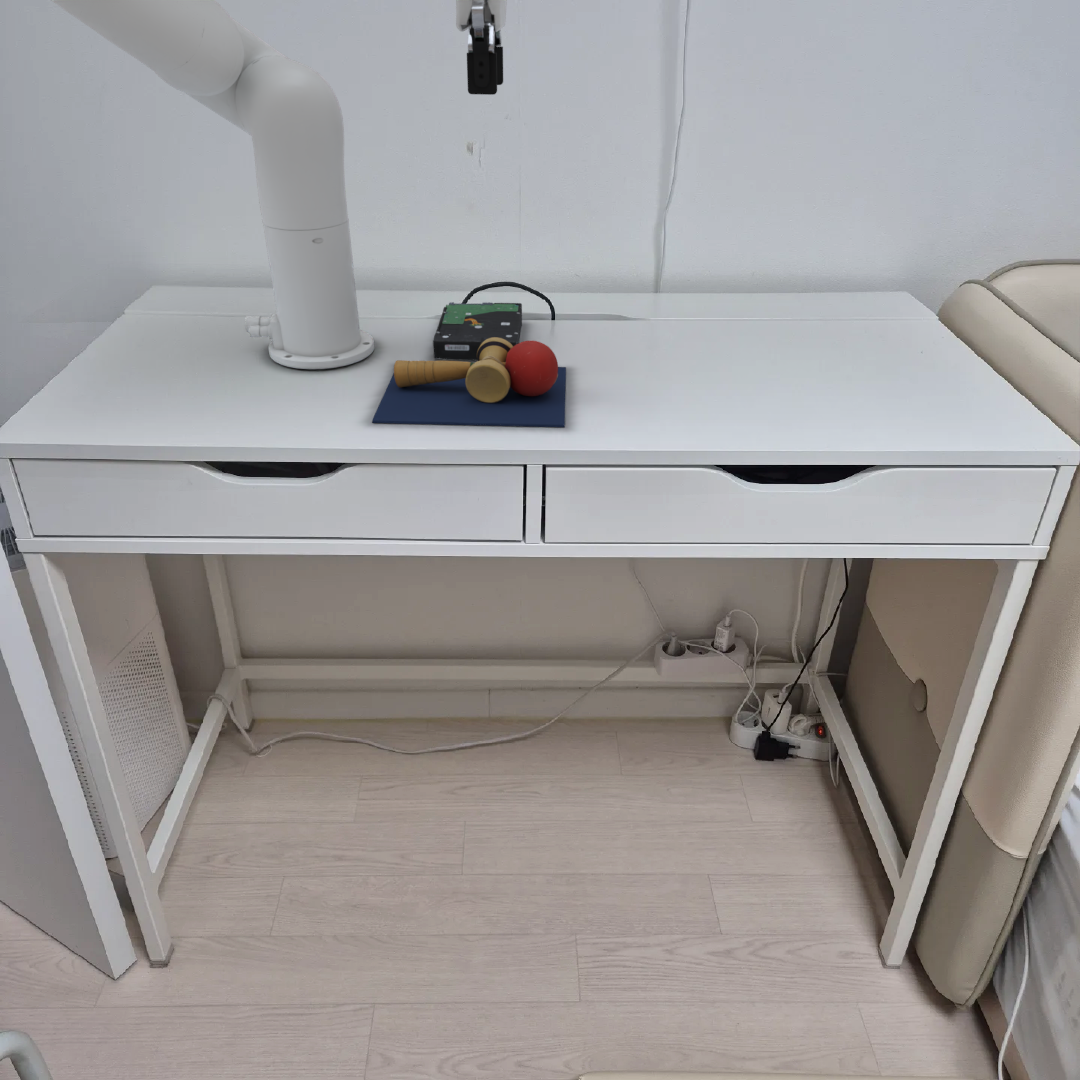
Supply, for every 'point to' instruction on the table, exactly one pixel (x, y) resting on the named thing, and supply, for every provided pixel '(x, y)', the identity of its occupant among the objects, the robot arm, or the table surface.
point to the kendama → (489, 370)
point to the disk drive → (475, 328)
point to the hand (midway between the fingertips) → (486, 89)
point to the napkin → (470, 406)
